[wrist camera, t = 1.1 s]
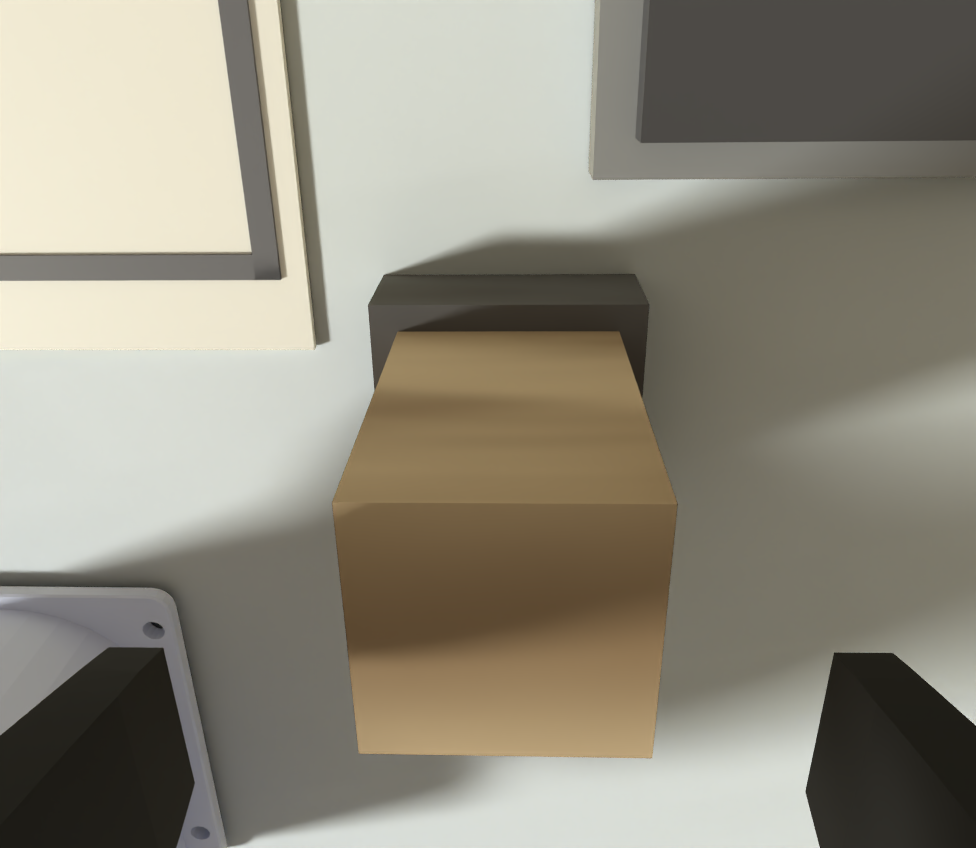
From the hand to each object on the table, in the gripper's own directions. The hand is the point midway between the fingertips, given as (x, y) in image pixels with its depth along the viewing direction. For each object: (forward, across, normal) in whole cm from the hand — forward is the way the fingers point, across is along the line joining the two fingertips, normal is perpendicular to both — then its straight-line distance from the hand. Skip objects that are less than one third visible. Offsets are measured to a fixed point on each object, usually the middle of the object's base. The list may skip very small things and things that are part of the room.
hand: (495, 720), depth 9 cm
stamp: (+10, 0, 0) cm, 10 cm away
